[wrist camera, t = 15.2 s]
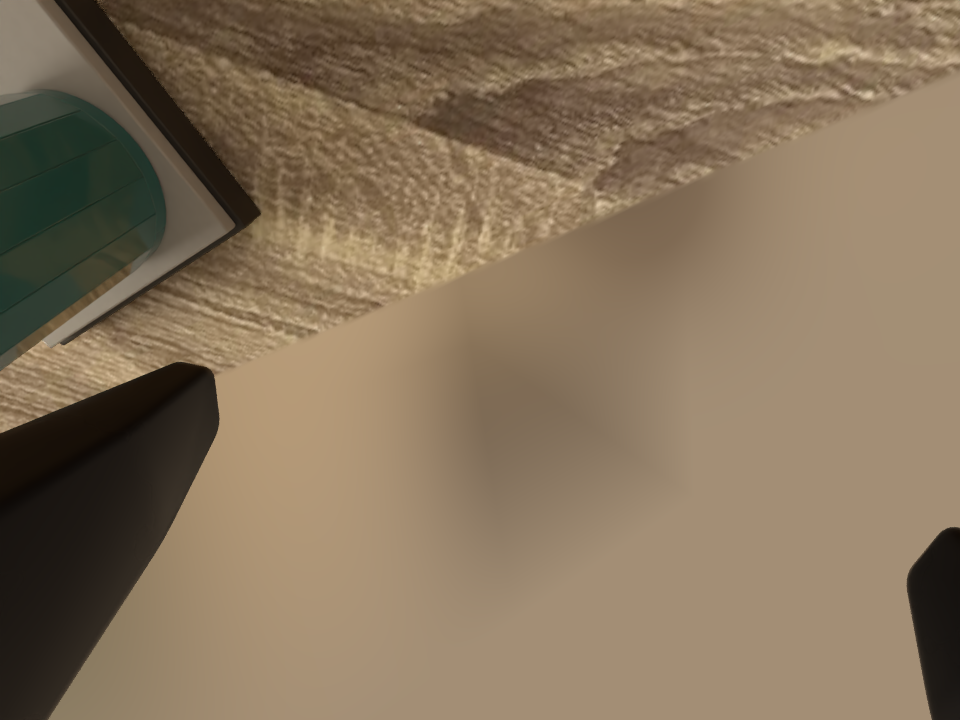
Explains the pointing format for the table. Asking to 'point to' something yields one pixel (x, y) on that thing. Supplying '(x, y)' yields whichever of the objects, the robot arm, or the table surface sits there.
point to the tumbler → (67, 212)
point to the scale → (143, 114)
